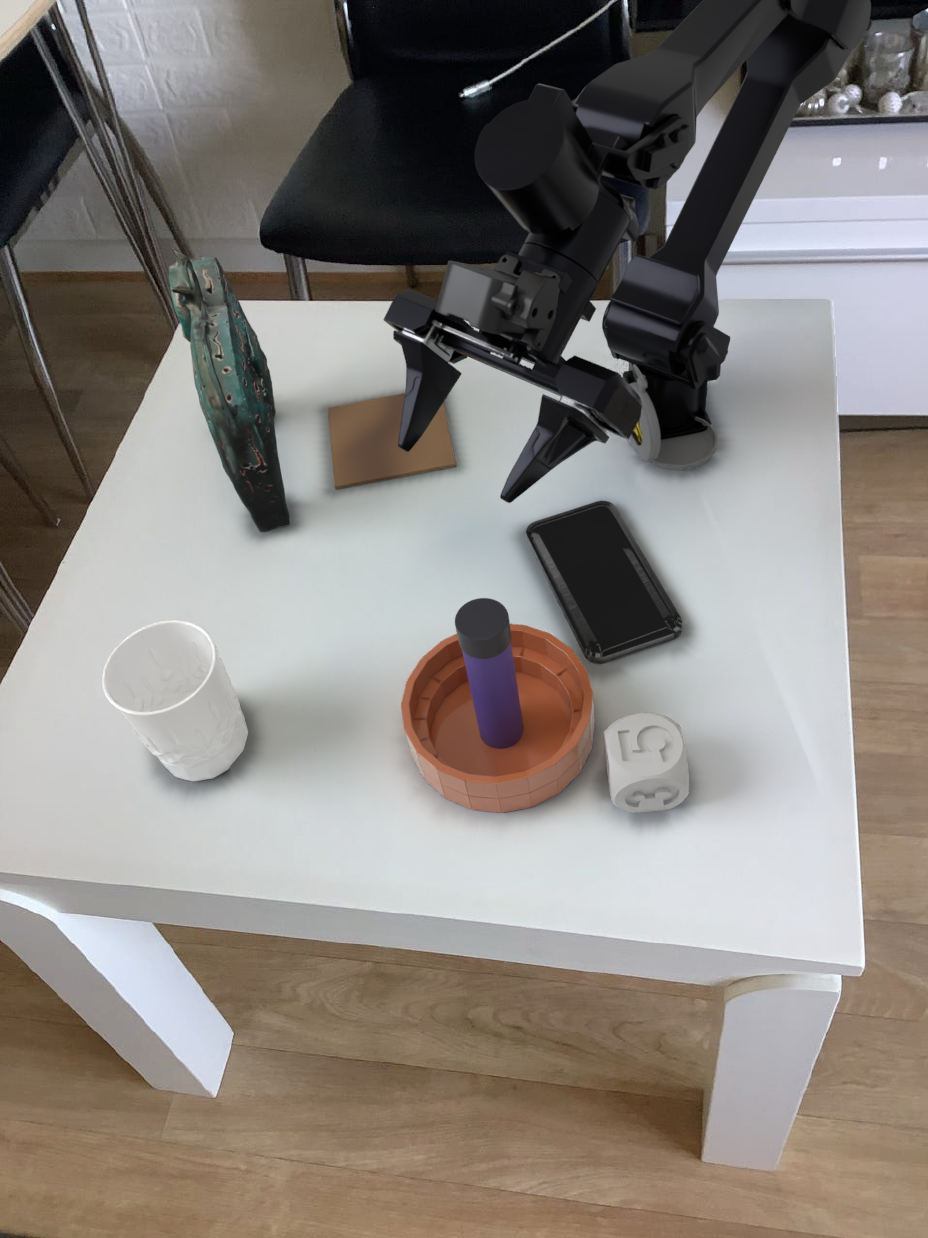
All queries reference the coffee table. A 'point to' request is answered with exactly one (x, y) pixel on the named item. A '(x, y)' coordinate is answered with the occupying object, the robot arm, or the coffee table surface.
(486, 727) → the glue stick
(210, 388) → the green weathered sculpture
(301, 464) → the coffee table surface
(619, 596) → the phone
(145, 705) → the white cup
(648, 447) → the pocket watch
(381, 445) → the coaster
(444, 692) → the bowl
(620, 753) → the die
